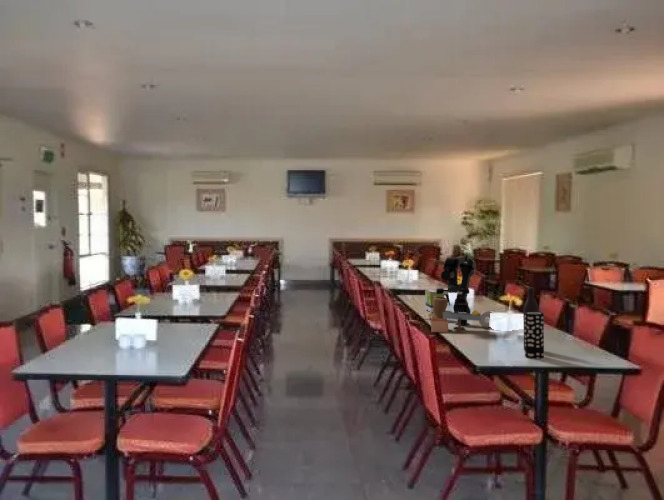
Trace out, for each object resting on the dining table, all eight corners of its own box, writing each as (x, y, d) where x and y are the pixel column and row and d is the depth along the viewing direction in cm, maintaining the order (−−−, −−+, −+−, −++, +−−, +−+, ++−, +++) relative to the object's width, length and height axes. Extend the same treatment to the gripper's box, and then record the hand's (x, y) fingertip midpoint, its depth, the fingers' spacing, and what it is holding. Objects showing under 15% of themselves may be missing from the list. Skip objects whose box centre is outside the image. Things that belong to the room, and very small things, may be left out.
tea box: (425, 310, 473) (424, 289, 472) (439, 309, 474) (438, 288, 473) (430, 313, 458) (430, 291, 457) (444, 312, 459) (444, 290, 459)
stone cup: (449, 321, 418) (449, 297, 417) (430, 321, 419) (429, 297, 418) (446, 318, 433) (446, 294, 432) (427, 318, 434) (427, 295, 433)
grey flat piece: (478, 316, 392) (479, 311, 392) (480, 320, 376) (481, 315, 376) (442, 314, 395) (443, 309, 395) (443, 318, 379) (443, 313, 379)
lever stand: (464, 328, 389) (464, 314, 389) (465, 332, 374) (465, 318, 374) (453, 328, 390) (453, 314, 390) (454, 332, 375) (454, 318, 375)
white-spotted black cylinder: (522, 355, 309) (521, 312, 309) (539, 354, 310) (539, 311, 309) (528, 359, 301) (528, 314, 300) (546, 358, 302) (546, 314, 301)
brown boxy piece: (447, 329, 388) (447, 315, 388) (448, 332, 378) (448, 318, 378) (431, 329, 390) (431, 315, 390) (431, 332, 379) (430, 318, 379)
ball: (473, 316, 384) (474, 309, 383) (479, 318, 381) (481, 311, 381) (470, 316, 380) (471, 309, 380) (476, 318, 378) (478, 311, 378)
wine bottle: (522, 349, 325) (521, 287, 323) (536, 348, 324) (536, 286, 323) (525, 351, 317) (525, 288, 316) (541, 351, 317) (540, 288, 316)
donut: (494, 327, 392) (494, 310, 392) (496, 327, 389) (496, 310, 389) (477, 327, 391) (477, 310, 390) (480, 328, 387) (480, 311, 387)
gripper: (436, 280, 384) (436, 307, 385) (469, 280, 382) (470, 307, 382) (436, 278, 395) (436, 305, 396) (468, 278, 393) (468, 305, 393)
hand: (452, 305), depth 392 cm, fingers open, 4 cm apart
